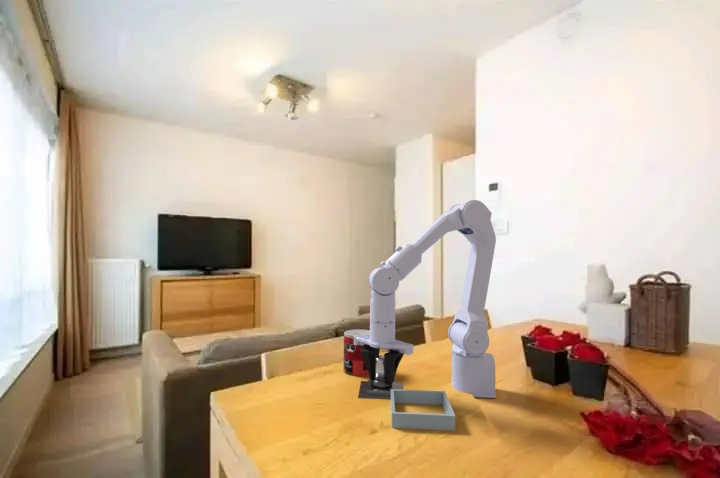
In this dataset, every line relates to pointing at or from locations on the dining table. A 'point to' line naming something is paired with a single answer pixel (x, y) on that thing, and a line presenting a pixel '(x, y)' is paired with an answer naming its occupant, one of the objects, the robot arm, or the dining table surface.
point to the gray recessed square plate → (377, 390)
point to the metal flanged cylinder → (380, 374)
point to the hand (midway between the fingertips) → (381, 381)
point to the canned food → (354, 354)
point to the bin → (422, 419)
